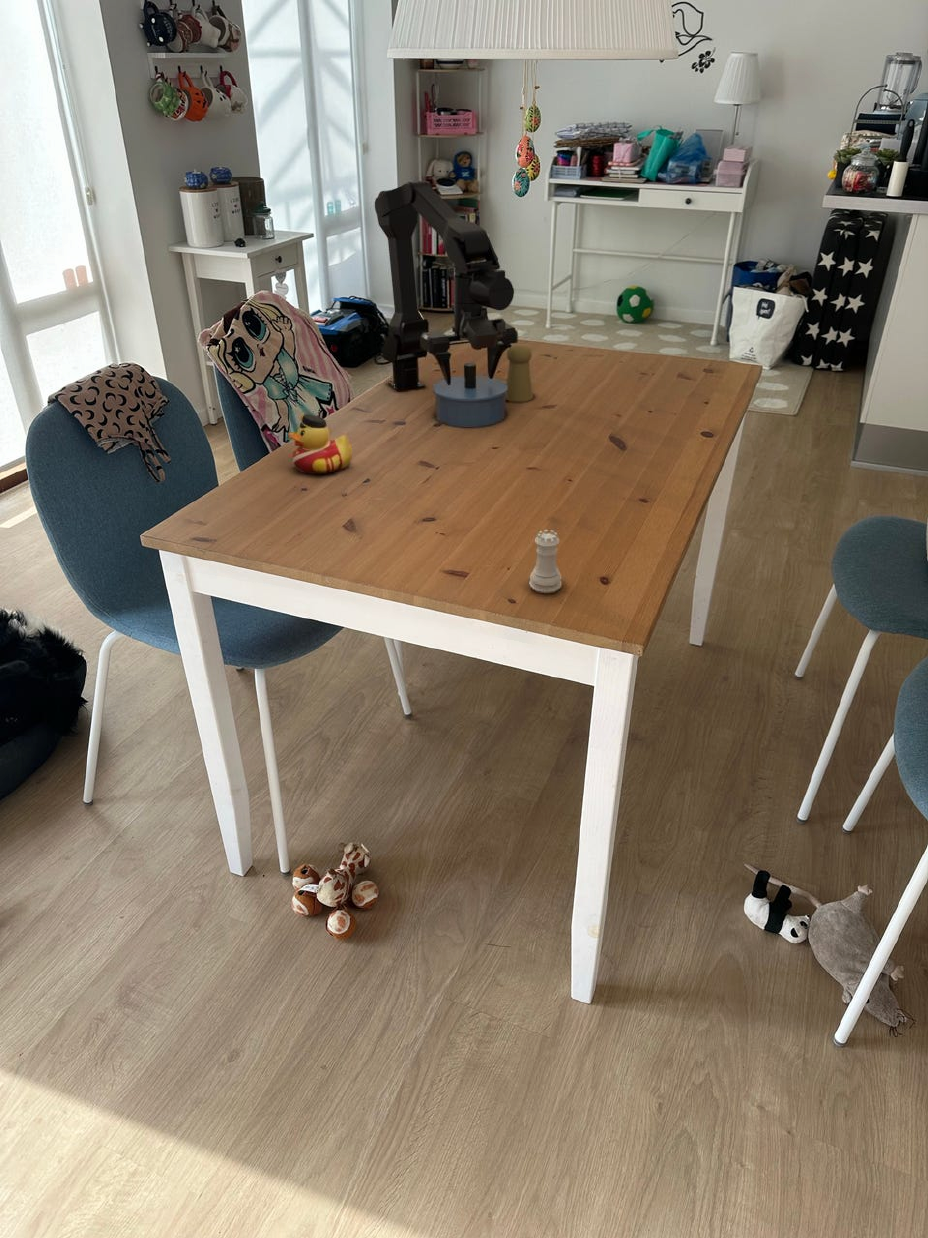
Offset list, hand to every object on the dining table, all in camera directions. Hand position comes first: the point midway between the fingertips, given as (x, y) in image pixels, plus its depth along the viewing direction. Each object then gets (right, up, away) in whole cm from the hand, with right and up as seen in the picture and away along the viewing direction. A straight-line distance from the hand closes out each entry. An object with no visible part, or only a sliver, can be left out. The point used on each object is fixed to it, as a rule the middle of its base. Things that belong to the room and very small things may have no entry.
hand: (469, 381), depth 176 cm
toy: (-26, -21, -19) cm, 38 cm away
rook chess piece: (+10, -43, -55) cm, 71 cm away
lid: (0, -1, +1) cm, 2 cm away
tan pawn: (+11, 0, +13) cm, 17 cm away
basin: (0, -6, +4) cm, 7 cm away
